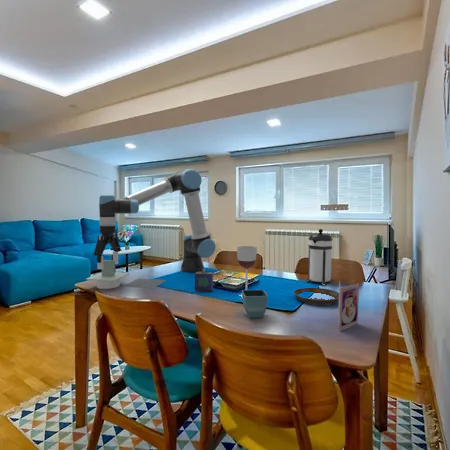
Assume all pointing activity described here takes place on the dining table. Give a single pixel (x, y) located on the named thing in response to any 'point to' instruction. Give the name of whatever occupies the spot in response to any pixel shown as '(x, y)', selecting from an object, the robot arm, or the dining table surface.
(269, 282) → the dining table surface
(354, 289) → the greeting card
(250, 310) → the flower pot
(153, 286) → the mat
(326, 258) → the coffee press
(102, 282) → the bowl
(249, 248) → the wineglass
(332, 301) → the plant saucer
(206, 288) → the flask
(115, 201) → the robot arm
